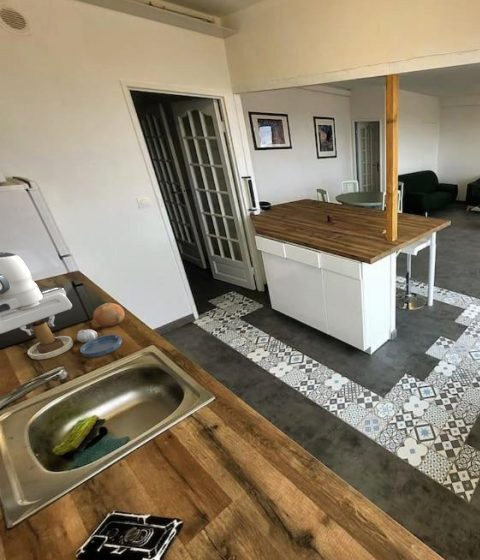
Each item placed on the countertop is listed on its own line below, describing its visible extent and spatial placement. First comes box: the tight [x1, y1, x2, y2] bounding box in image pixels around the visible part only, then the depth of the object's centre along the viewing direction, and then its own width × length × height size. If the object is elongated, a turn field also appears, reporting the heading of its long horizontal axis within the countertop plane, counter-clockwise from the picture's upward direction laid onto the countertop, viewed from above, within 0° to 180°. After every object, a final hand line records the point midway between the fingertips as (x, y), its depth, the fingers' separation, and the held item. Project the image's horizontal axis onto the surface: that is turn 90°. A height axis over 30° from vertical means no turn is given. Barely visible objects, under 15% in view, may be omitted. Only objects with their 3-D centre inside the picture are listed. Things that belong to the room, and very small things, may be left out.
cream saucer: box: [26, 335, 74, 361], centre depth 115 cm, size 12×12×2 cm
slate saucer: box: [79, 333, 123, 359], centre depth 117 cm, size 12×12×2 cm
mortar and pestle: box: [29, 320, 64, 354], centre depth 112 cm, size 7×6×18 cm
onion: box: [92, 302, 125, 328], centre depth 129 cm, size 10×10×10 cm
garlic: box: [76, 328, 99, 344], centre depth 120 cm, size 6×5×5 cm
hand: (41, 330), depth 112 cm, fingers closed on mortar and pestle, 4 cm apart
